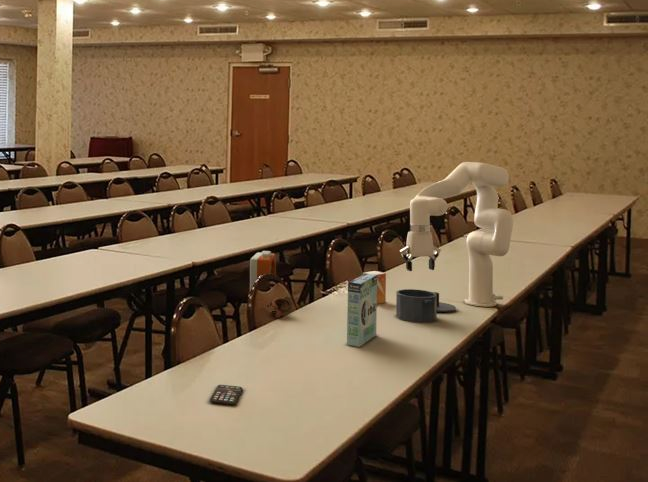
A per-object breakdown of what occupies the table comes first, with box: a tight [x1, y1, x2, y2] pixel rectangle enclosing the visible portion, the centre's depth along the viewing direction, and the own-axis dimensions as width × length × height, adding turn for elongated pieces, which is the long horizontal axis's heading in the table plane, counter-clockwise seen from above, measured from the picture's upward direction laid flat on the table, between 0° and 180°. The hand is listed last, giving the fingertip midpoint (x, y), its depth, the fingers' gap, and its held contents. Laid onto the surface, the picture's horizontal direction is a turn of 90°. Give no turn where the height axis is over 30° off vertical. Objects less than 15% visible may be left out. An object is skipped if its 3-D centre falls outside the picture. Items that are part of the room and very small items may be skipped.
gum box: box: [346, 272, 378, 348], centre depth 301 cm, size 20×5×23 cm, turn 144°
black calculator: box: [209, 384, 243, 406], centre depth 242 cm, size 7×1×15 cm
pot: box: [395, 288, 438, 324], centre depth 334 cm, size 15×21×10 cm
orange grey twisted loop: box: [270, 297, 293, 319], centre depth 337 cm, size 12×10×8 cm
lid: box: [432, 291, 457, 313], centre depth 350 cm, size 16×16×7 cm
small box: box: [362, 270, 387, 305], centre depth 362 cm, size 8×6×13 cm
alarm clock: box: [249, 250, 277, 292], centre depth 373 cm, size 18×9×21 cm, turn 160°
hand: (420, 270), depth 340 cm, fingers open, 9 cm apart
